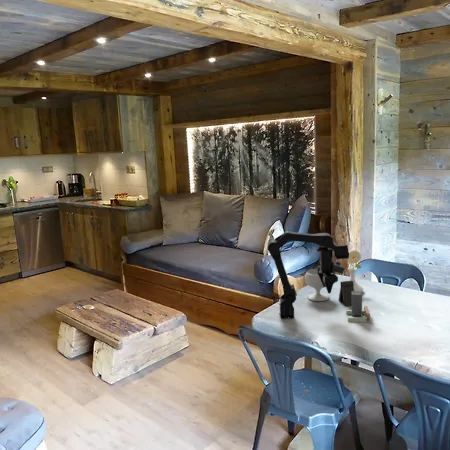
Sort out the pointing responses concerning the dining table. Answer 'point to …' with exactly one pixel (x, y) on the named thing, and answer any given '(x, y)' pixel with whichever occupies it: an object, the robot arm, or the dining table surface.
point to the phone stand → (346, 292)
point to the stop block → (356, 303)
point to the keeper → (360, 319)
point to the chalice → (315, 286)
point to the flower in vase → (354, 258)
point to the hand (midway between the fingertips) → (327, 290)
